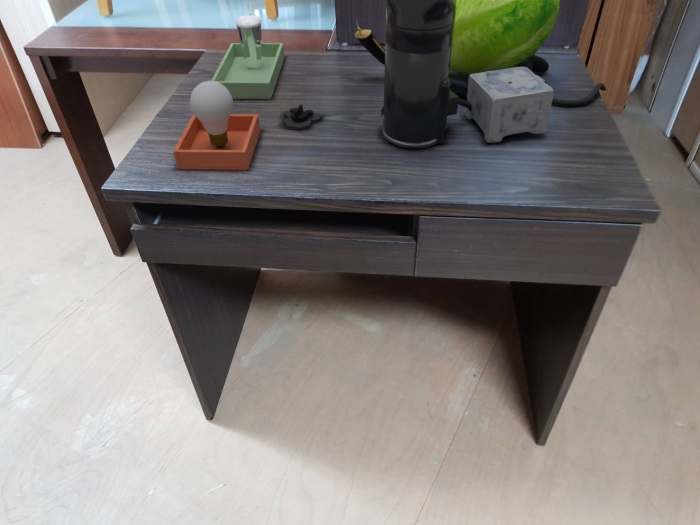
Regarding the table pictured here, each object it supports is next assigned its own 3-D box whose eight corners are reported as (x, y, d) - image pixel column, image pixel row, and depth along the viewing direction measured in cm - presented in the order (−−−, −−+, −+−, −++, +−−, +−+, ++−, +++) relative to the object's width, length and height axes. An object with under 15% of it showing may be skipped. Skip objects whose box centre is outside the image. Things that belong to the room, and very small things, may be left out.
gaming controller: (529, 80, 104) (507, 52, 101) (551, 65, 101) (528, 35, 99) (528, 105, 96) (503, 75, 94) (551, 89, 93) (526, 58, 91)
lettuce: (450, 117, 95) (446, 70, 106) (584, 52, 85) (564, 6, 95) (409, 51, 87) (408, 6, 97) (551, -32, 76) (534, -73, 86)
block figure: (274, 112, 86) (288, 97, 90) (276, 126, 88) (289, 110, 92) (310, 117, 85) (322, 102, 89) (311, 131, 86) (323, 115, 90)
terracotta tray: (260, 131, 87) (258, 114, 85) (248, 169, 78) (245, 152, 76) (196, 130, 87) (193, 113, 85) (177, 169, 79) (173, 151, 77)
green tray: (284, 57, 109) (283, 42, 107) (271, 99, 95) (269, 82, 93) (233, 57, 109) (231, 42, 107) (212, 98, 95) (209, 82, 94)
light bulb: (196, 141, 84) (182, 78, 77) (234, 133, 85) (223, 70, 79) (205, 160, 80) (191, 95, 73) (244, 151, 81) (234, 86, 75)
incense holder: (517, 114, 91) (458, 115, 89) (531, 65, 86) (470, 64, 84) (545, 142, 84) (482, 144, 82) (562, 90, 79) (496, 90, 77)
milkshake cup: (269, 59, 107) (263, 5, 100) (263, 70, 103) (256, 15, 96) (246, 59, 107) (238, 5, 101) (239, 70, 103) (231, 14, 97)
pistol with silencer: (488, 46, 83) (495, 92, 92) (357, 17, 95) (375, 60, 104) (475, 68, 82) (483, 113, 92) (344, 36, 94) (363, 78, 103)
